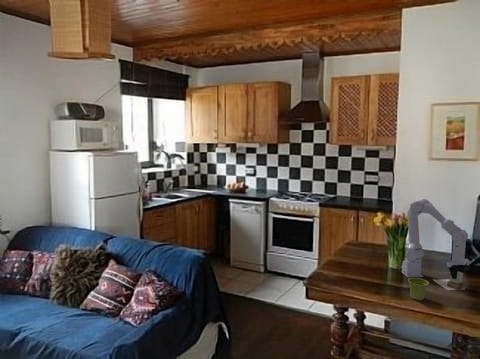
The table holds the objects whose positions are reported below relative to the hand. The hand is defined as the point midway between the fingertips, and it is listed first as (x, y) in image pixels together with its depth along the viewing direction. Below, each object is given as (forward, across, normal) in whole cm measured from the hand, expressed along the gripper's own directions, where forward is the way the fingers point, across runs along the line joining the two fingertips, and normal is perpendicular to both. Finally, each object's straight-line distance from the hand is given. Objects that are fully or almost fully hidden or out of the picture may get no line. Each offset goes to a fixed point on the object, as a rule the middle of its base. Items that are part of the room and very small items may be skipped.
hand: (456, 278), depth 209 cm
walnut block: (+5, 0, 0) cm, 5 cm away
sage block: (+2, 0, 0) cm, 2 cm away
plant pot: (+6, -29, -1) cm, 30 cm away
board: (+5, -1, +4) cm, 7 cm away
